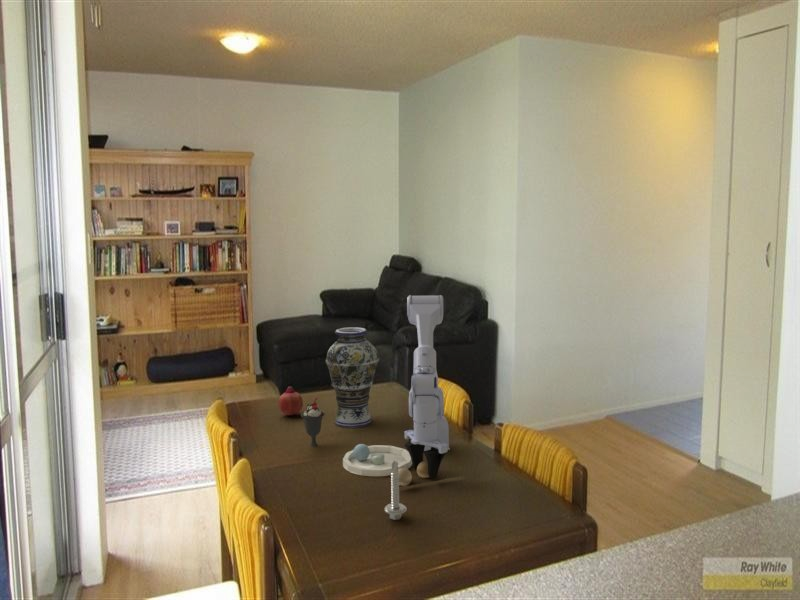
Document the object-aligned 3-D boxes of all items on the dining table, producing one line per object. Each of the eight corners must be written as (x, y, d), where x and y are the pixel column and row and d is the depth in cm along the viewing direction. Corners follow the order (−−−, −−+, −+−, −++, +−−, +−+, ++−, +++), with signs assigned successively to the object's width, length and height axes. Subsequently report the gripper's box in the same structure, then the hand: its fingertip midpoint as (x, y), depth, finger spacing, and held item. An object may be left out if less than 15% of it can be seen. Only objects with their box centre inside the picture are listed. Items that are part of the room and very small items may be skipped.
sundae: (321, 452, 186) (320, 400, 184) (298, 451, 187) (297, 399, 185) (328, 444, 192) (327, 394, 190) (306, 443, 194) (305, 393, 192)
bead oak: (429, 473, 170) (429, 457, 169) (437, 480, 166) (437, 463, 165) (414, 476, 168) (413, 459, 168) (421, 482, 164) (421, 465, 164)
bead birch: (407, 481, 165) (407, 464, 165) (414, 487, 161) (414, 470, 161) (391, 484, 164) (391, 466, 163) (398, 490, 160) (397, 473, 159)
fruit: (274, 418, 218) (273, 388, 216) (285, 411, 225) (284, 382, 224) (296, 420, 215) (295, 390, 214) (307, 413, 223) (306, 384, 222)
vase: (390, 418, 216) (388, 327, 212) (359, 433, 201) (357, 336, 197) (349, 411, 225) (347, 323, 221) (316, 425, 210) (313, 331, 206)
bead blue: (366, 456, 180) (366, 440, 180) (372, 461, 176) (371, 445, 176) (351, 458, 179) (350, 442, 178) (356, 464, 175) (356, 448, 174)
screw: (410, 519, 144) (389, 524, 143) (401, 510, 149) (381, 515, 147) (409, 462, 143) (388, 466, 141) (400, 455, 147) (380, 458, 145)
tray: (396, 449, 188) (396, 440, 187) (423, 472, 171) (423, 462, 171) (334, 459, 181) (334, 449, 181) (355, 483, 164) (355, 473, 164)
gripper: (394, 416, 168) (395, 468, 170) (431, 431, 157) (431, 486, 159) (416, 411, 173) (417, 461, 174) (453, 425, 161) (454, 478, 163)
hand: (425, 472), depth 167 cm, fingers open, 5 cm apart
